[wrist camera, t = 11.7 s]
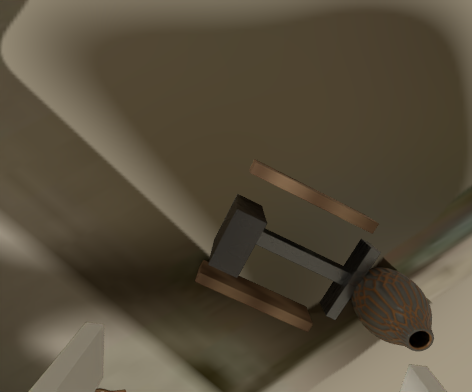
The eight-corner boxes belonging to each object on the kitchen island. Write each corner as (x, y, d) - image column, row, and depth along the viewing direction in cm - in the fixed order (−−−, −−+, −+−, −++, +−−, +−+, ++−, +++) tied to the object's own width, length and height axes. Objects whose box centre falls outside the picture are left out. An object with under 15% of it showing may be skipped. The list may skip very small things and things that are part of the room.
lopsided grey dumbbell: (208, 251, 30) (200, 278, 25) (244, 181, 29) (245, 193, 23) (328, 306, 32) (348, 345, 26) (370, 243, 30) (401, 269, 24)
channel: (199, 267, 31) (194, 281, 28) (254, 159, 28) (256, 161, 25) (301, 314, 33) (307, 332, 30) (365, 214, 30) (378, 223, 27)
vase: (410, 267, 31) (475, 317, 22) (386, 315, 32) (438, 380, 24) (355, 251, 31) (400, 296, 22) (333, 301, 32) (367, 361, 24)
